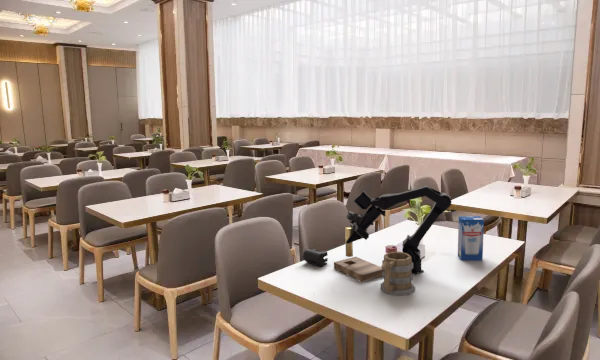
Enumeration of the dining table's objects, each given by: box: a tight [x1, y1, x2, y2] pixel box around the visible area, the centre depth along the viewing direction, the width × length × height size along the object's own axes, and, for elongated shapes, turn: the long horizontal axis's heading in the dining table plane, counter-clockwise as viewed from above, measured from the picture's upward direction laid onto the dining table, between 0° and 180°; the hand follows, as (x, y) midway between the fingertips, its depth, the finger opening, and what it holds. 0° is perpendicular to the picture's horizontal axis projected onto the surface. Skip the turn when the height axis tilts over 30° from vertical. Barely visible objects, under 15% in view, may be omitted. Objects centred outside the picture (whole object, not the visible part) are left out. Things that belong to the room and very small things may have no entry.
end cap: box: [302, 248, 329, 267], centre depth 205 cm, size 10×7×7 cm
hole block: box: [333, 256, 384, 283], centre depth 193 cm, size 20×13×3 cm, turn 32°
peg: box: [344, 226, 354, 258], centre depth 194 cm, size 3×3×13 cm
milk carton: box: [457, 215, 485, 262], centre depth 205 cm, size 10×6×20 cm, turn 84°
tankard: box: [380, 251, 416, 296], centre depth 170 cm, size 20×13×15 cm, turn 141°
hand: (346, 241), depth 194 cm, fingers closed on peg, 3 cm apart
